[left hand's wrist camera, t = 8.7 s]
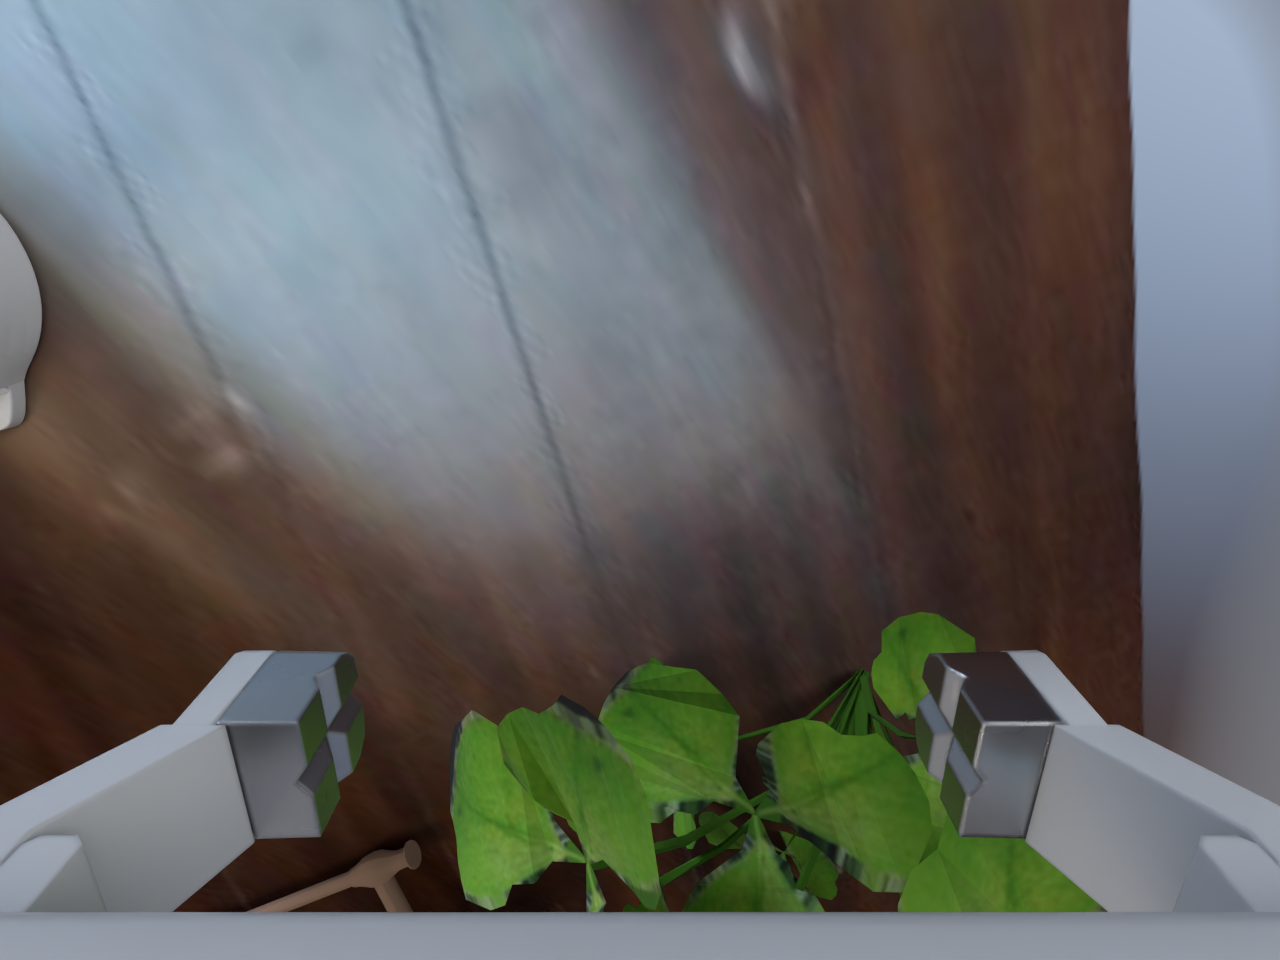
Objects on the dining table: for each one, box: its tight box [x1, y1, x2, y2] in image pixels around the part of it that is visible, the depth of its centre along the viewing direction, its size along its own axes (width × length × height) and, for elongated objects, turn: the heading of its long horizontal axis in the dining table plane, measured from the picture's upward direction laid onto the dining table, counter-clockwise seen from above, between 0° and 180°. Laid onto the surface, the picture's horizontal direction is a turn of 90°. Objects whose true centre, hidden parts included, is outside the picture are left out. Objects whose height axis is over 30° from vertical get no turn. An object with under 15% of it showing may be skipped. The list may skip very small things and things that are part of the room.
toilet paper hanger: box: [247, 840, 421, 912], centre depth 60 cm, size 27×11×8 cm, turn 117°
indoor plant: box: [450, 612, 1108, 912], centre depth 42 cm, size 44×42×30 cm
